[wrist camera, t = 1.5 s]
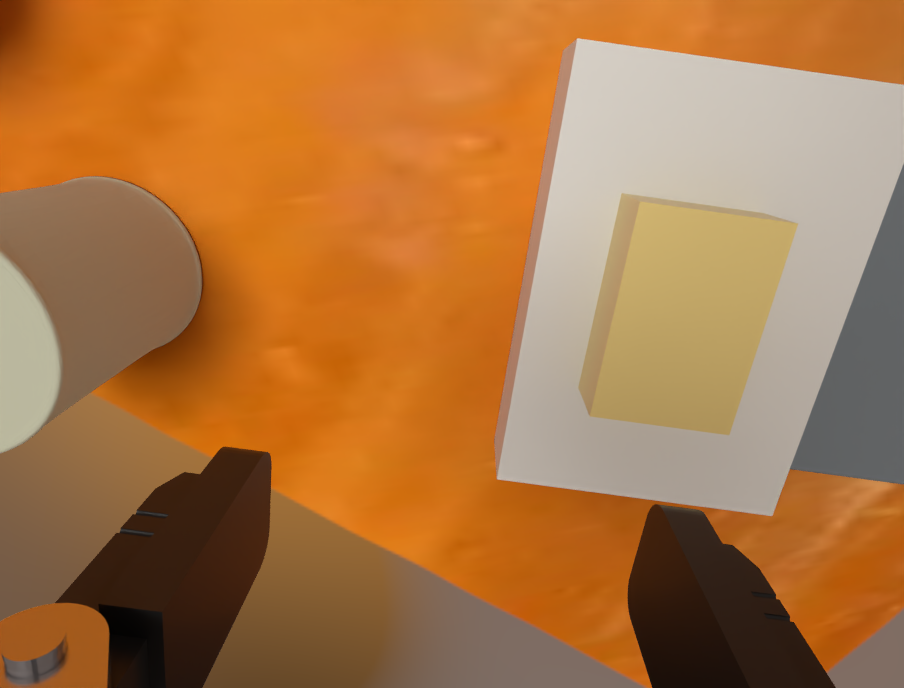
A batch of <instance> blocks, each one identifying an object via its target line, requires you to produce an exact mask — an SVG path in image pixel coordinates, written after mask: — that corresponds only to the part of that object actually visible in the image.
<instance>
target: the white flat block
mask: <svg viewBox="0 0 904 688" xmlns="http://www.w3.org/2000/svg"><path fill="white" fill-rule="evenodd" d="M903 164H904V85H900V84H893V83H886V82H879V81H872V80H865V79H858V78H851V77H844V76H837V75H830V74H823V73H816V72H809V71H802V70H795V69H788V68H781V67H774V66H767V65H760V64H753V63H746V62H739V61H732V60H725V59H718V58H711V57H704V56H697V55H690V54H683V53H676V52H669V51H662V50H655V49H648V48H641V47H634V46H627V45H620V44H613V43H606V42H599V41H592V40H585V39H578V38H577V39H576V40H575V41H574V42H572V43H571V44H570V45H569V46H568V47H567V48H565V49H564V50H563V54H562V60H561V65H560V71H559V77H558V82H557V88H556V94H555V99H554V105H553V111H552V116H551V122H550V128H549V133H548V139H547V145H546V150H545V156H544V162H543V167H542V173H541V179H540V184H539V190H538V196H537V201H536V207H535V213H534V218H533V224H532V230H531V235H530V241H529V246H528V252H527V258H526V263H525V269H524V275H523V280H522V286H521V292H520V297H519V303H518V309H517V314H516V320H515V326H514V331H513V337H512V343H511V348H510V354H509V360H508V365H507V371H506V377H505V382H504V388H503V394H502V399H501V405H500V411H499V416H498V422H497V428H496V433H495V439H494V444H495V459H496V475H497V479H499V480H506V481H514V482H521V483H529V484H536V485H544V486H551V487H559V488H566V489H574V490H581V491H588V492H596V493H603V494H611V495H618V496H626V497H633V498H641V499H648V500H656V501H663V502H671V503H678V504H686V505H693V506H701V507H708V508H715V509H723V510H730V511H738V512H745V513H753V514H760V515H768V516H772V515H773V512H774V510H775V507H776V504H777V502H778V499H779V496H780V494H781V491H782V488H783V486H784V483H785V480H786V478H787V475H788V472H789V470H790V467H791V464H792V462H793V459H794V456H795V454H796V451H797V448H798V445H799V443H800V440H801V437H802V435H803V432H804V429H805V427H806V424H807V421H808V419H809V416H810V413H811V411H812V408H813V405H814V403H815V400H816V397H817V395H818V392H819V389H820V386H821V384H822V381H823V378H824V376H825V373H826V370H827V368H828V365H829V362H830V360H831V357H832V354H833V352H834V349H835V346H836V344H837V341H838V338H839V336H840V333H841V330H842V328H843V325H844V322H845V319H846V317H847V314H848V311H849V309H850V306H851V303H852V301H853V298H854V295H855V293H856V290H857V287H858V285H859V282H860V279H861V277H862V274H863V271H864V269H865V266H866V263H867V260H868V258H869V255H870V252H871V250H872V247H873V244H874V242H875V239H876V236H877V234H878V231H879V228H880V226H881V223H882V220H883V218H884V215H885V212H886V210H887V207H888V204H889V202H890V199H891V196H892V193H893V191H894V188H895V185H896V183H897V180H898V177H899V175H900V172H901V169H902V167H903ZM621 193H624V194H632V195H639V196H646V197H653V198H660V199H667V200H674V201H682V202H689V203H696V204H703V205H710V206H717V207H725V208H732V209H739V210H746V211H753V212H760V213H765V214H768V215H771V216H775V217H778V218H781V219H785V220H788V221H791V222H795V223H798V226H797V229H796V232H795V235H794V238H793V241H792V245H791V248H790V251H789V254H788V257H787V260H786V263H785V266H784V269H783V272H782V275H781V278H780V281H779V284H778V287H777V291H776V294H775V297H774V300H773V303H772V306H771V309H770V312H769V315H768V318H767V321H766V324H765V327H764V330H763V333H762V336H761V340H760V343H759V346H758V349H757V352H756V355H755V358H754V361H753V364H752V367H751V370H750V373H749V376H748V379H747V382H746V386H745V389H744V392H743V395H742V398H741V401H740V404H739V407H738V410H737V413H736V416H735V419H734V422H733V425H732V428H731V432H730V435H723V434H716V433H708V432H701V431H694V430H686V429H679V428H671V427H664V426H657V425H649V424H642V423H635V422H627V421H620V420H612V419H605V418H598V417H590V416H589V414H588V411H587V409H586V406H585V403H584V401H583V398H582V396H581V393H580V391H579V388H578V386H579V382H580V377H581V373H582V368H583V364H584V359H585V355H586V350H587V346H588V341H589V337H590V332H591V328H592V324H593V319H594V315H595V310H596V306H597V301H598V297H599V292H600V288H601V283H602V279H603V274H604V270H605V265H606V261H607V256H608V252H609V247H610V243H611V238H612V234H613V229H614V225H615V220H616V216H617V211H618V207H619V202H620V198H621Z"/></svg>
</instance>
